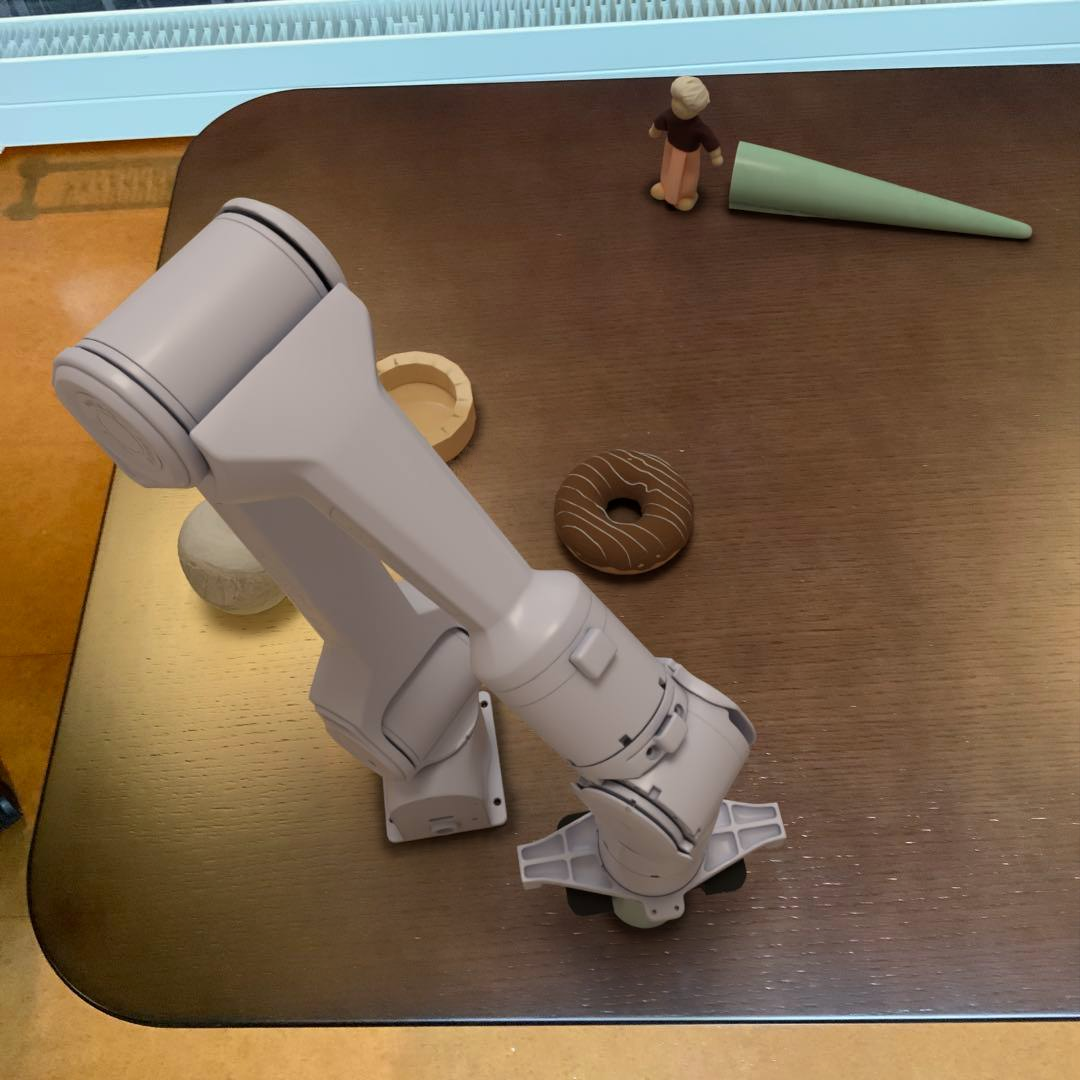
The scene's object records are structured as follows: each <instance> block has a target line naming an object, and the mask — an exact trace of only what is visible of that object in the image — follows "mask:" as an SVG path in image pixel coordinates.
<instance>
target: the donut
mask: <svg viewBox="0 0 1080 1080" xmlns="http://www.w3.org/2000/svg"><path fill="white" fill-rule="evenodd" d="M555 493H556V494H555V498H554V499H555V500H554V509H553V513H554V514H553V516H554V523H555V525H556V529H557V532H558V535H559V538H560V539H561V541H562V543H563V544H564V545H565V546H566V548H567V549H568V550H569V551H570V552H571V553H572V555H574V557H576V558H577V559H578V560H579V561H580V562H582V563H584V564H585V565H587V566H588V567H591V568H593V569H595V570H597V571H600V572H603V573H607V574H613V575H623V576H624V575H637V574H642V573H646V572H649V571H652V570H655V569H657V568H660V567H661V566H663V565H664V564H666V563H667V562H668V561H670V560H672V559H673V558H674V557H675V556H676V555H677V553H679V551H681V550H682V549H683V548H684V547H685V546H686V545H687V542H688V541H689V537H690V536H691V534H692V533H693V531H694V511H695V503H694V501H693V497H692V496H693V495H692V494H691V490H690V488H689V486H688V484H687V482H686V481H685V479H684V478H683V477H682V476H681V474H679V472H678V471H677V470H676V469H675V468H674V467H673V466H671V465H670V464H669V463H668V462H667V461H665V460H664V459H662V458H661V457H659V456H657V455H654V454H650V453H646V452H639V451H637V450H623V449H621V448H616V449H614V450H609V451H604V452H600V453H599V454H595V455H592V456H590V457H589V458H587V459H585V460H583V461H581V462H580V463H579V464H577V465H576V466H575V467H574V468H572V470H571V471H570V472H569V473H568V475H567V476H566V477H565V479H564V480H563V481H562V483H561V485H560V486H559V489H558V490H557V492H555ZM616 499H630V500H633V501H636V502H637V503H638V504H639V506H640V507H641V509H640V513H641V517H640V518H639V519H638V520H636V521H635V522H630V523H625V522H619V521H613V519H611V518H610V517H609V515H608V514H607V511H606V509H607V508H608V504H609V503H610V502H611V501H614V500H616Z"/></svg>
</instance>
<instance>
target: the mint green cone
mask: <svg viewBox="0 0 1080 1080" xmlns="http://www.w3.org/2000/svg"><path fill="white" fill-rule="evenodd" d="M734 157H735V158H734V162H733V168H732V173H731V180H730V187H729V197H728V204H729V205H728V208H729V209H734V210H741V211H743V210H744V211H751V212H758V213H768V214H777V215H787V216H789V215H790V216H796V217H814V218H822V219H824V218H825V219H832V220H834V219H835V220H844V221H853V222H860V223H861V222H862V223H871V224H880V225H889V226H897V227H907V228H915V229H925V230H934V231H942V232H943V231H944V232H951V233H952V232H953V233H961V234H970V235H971V234H972V235H980V236H988V237H996V238H997V237H998V238H1007V239H1008V238H1009V239H1018V240H1019V239H1020V240H1024V239H1025V240H1026V239H1029V238H1030V237H1031V236H1032V235H1033V228H1032V227H1031V226H1030V225H1029V224H1027V223H1025V222H1022V221H1020V220H1015V219H1012V218H1009V217H1006V216H1003V215H1000V214H996V213H992V212H990V211H987V210H983V209H979V208H977V207H973V206H969V205H966V204H963V203H959V202H956V201H953V200H950V199H945V198H942V197H939V196H936V195H932V194H930V193H926V192H922V191H919V190H916V189H913V188H909V187H905V186H902V185H899V184H895V183H891V182H889V181H885V180H882V179H878V178H875V177H872V176H868V175H866V174H861V173H859V172H854V171H853V170H852V171H851V170H848V169H845V168H841V167H838V166H835V165H832V164H828V163H824V162H821V161H818V160H814V159H811V158H808V157H806V156H805V157H804V156H801V155H799V154H798V155H797V154H794V153H792V152H791V153H790V152H787V151H783V150H780V149H777V148H776V149H775V148H771V147H767V146H764V145H759V144H755V143H751V142H747V141H746V142H745V141H742V140H739V142H738V145H737V147H736V153H735V156H734Z"/></svg>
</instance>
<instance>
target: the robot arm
mask: <svg viewBox="0 0 1080 1080" xmlns="http://www.w3.org/2000/svg"><path fill="white" fill-rule="evenodd" d="M376 362H377V352H376V337H375V329H374V326H373V322H372V318H371V316H370V312H369V309H368V307H367V306H366V305H365V303H364V302H363V301H362V300H361V298H360V297H358V296H356V295H355V294H354V293H353V291H351V290H350V287H349V285H348V281H347V279H346V277H345V275H344V272H343V270H342V268H341V266H340V265H339V263H338V262H337V260H336V259H335V257H334V255H333V254H332V253H331V252H330V250H329V249H328V248H327V247H326V245H325V244H324V242H322V241H321V240H320V239H319V237H318V236H317V235H316V234H315V233H313V231H311V230H310V229H309V228H308V227H307V226H306V225H304V223H302V222H301V221H300V220H298V219H297V218H296V217H294V216H293V215H291V214H290V213H288V212H286V211H284V210H283V209H281V208H279V207H276V206H274V205H272V204H270V203H265V202H262V201H260V200H256V199H253V198H247V197H234V198H232V199H230V200H228V201H227V202H225V203H224V204H223V205H222V206H221V207H220V208H219V210H218V211H217V212H216V213H215V214H214V216H213V218H212V220H211V221H210V222H209V223H208V224H207V225H206V226H205V227H204V228H202V230H201V231H199V232H198V233H197V234H196V235H195V236H193V238H192V239H191V240H189V241H188V242H187V243H186V244H185V245H184V246H182V247H181V248H180V249H179V250H178V251H177V252H176V253H175V254H174V255H173V256H171V258H169V259H168V260H167V261H166V262H165V263H164V264H163V265H162V266H161V267H160V268H159V269H157V270H156V271H155V272H154V273H153V274H152V275H151V276H150V277H149V278H147V279H146V280H145V281H144V282H143V283H142V284H141V285H140V286H138V288H136V289H135V290H134V291H133V292H132V293H131V294H130V295H129V296H128V297H127V298H126V299H124V300H123V301H121V303H120V304H119V305H117V306H116V307H115V308H114V309H113V310H112V311H111V312H110V313H109V314H108V315H106V316H105V318H103V319H102V320H101V321H100V322H99V323H98V324H97V325H96V326H95V327H93V328H92V329H91V330H90V331H89V332H88V333H87V334H86V335H84V336H83V338H81V339H80V340H79V341H78V342H76V343H75V344H74V345H72V346H66V347H65V348H64V349H63V350H62V351H60V352H59V353H58V354H57V355H55V357H54V359H53V362H52V375H51V386H52V387H53V389H54V393H55V395H56V397H57V399H58V401H59V402H60V404H61V405H62V406H63V407H64V408H65V409H66V410H67V411H68V413H69V414H70V415H71V416H72V418H73V419H74V420H76V422H77V423H78V424H79V425H80V426H81V427H82V429H83V430H84V431H85V432H86V433H87V434H88V435H89V436H90V437H91V438H92V439H93V441H94V442H95V443H96V444H97V445H98V446H99V447H100V448H101V450H102V451H103V452H104V453H105V454H106V455H107V456H108V457H109V458H110V460H111V461H112V462H113V463H114V464H115V465H116V467H118V468H119V469H120V471H121V472H122V473H123V474H125V476H127V478H129V479H130V480H132V481H133V482H135V484H137V485H139V486H141V487H143V488H145V489H165V490H166V489H169V490H170V489H171V490H172V489H174V490H175V489H177V490H189V489H190V490H191V489H195V488H196V489H197V491H199V493H200V494H201V495H202V496H203V497H204V500H207V501H208V502H209V504H210V505H211V506H212V507H213V508H214V510H215V511H216V512H217V513H218V514H219V516H220V517H221V518H222V519H223V520H224V522H225V523H226V524H227V525H228V526H229V528H230V529H231V530H232V531H233V532H234V534H235V535H236V536H237V537H238V538H239V540H240V541H241V542H242V543H243V544H244V546H245V547H246V548H247V549H248V550H249V552H250V553H251V554H252V555H253V556H254V558H255V559H256V560H257V561H258V562H259V564H260V565H261V566H262V567H263V568H264V570H265V571H266V572H267V573H268V574H269V576H270V577H271V578H272V579H273V580H274V582H275V583H276V584H277V585H278V586H279V588H280V589H281V590H282V591H283V592H284V594H285V595H286V598H288V600H289V601H290V602H291V603H292V605H293V606H294V607H295V608H296V609H297V611H298V612H299V613H300V614H301V616H303V618H304V619H305V620H306V621H307V623H308V624H309V625H310V626H311V627H312V629H313V630H314V631H315V632H316V633H317V635H318V636H319V637H320V638H321V639H322V641H323V644H322V648H321V651H320V655H319V659H318V661H317V664H316V668H315V671H314V675H313V678H312V682H311V684H310V689H309V693H308V700H309V702H310V703H312V704H313V706H314V711H315V712H316V713H317V715H318V716H319V718H320V719H321V720H322V722H323V723H324V726H325V727H324V728H325V731H326V732H327V734H328V735H329V736H330V738H331V739H333V741H334V742H336V743H337V744H338V746H340V747H341V748H342V749H343V750H344V751H346V752H347V753H348V754H349V755H351V756H352V757H353V758H354V759H356V760H357V761H358V762H359V763H361V764H362V765H364V766H365V767H366V768H368V769H369V770H371V771H372V772H374V773H375V774H376V775H379V776H380V777H382V786H383V801H384V812H385V813H384V814H385V826H386V837H387V839H388V841H390V842H391V843H393V844H398V843H405V842H409V841H416V840H422V839H429V838H434V837H440V836H447V835H452V834H458V833H464V832H469V831H475V830H482V829H488V828H494V827H500V826H503V825H505V824H506V823H507V821H508V813H507V812H508V811H507V806H506V805H507V804H506V798H505V791H504V783H503V778H502V777H503V775H502V770H501V769H502V768H501V763H500V762H501V761H500V755H499V747H498V741H497V734H496V726H495V720H494V711H493V705H492V697H491V695H490V693H489V692H487V691H485V690H481V687H482V685H484V686H485V687H486V688H487V689H488V690H489V691H490V692H491V693H492V694H493V695H494V696H495V697H496V698H497V699H498V700H500V701H501V702H502V703H503V704H504V705H505V706H506V707H507V708H508V709H509V710H510V711H511V712H512V713H513V714H515V715H516V717H518V718H519V719H520V720H521V722H523V723H524V724H525V725H526V726H527V727H528V728H529V729H531V730H532V731H533V732H534V734H536V736H538V737H539V738H540V739H541V740H542V741H543V742H544V743H545V744H547V745H548V747H550V748H551V750H553V751H554V753H556V754H557V755H558V756H559V757H560V758H561V759H562V760H564V762H566V763H567V764H568V766H570V767H571V768H572V769H573V771H575V772H576V773H577V774H579V776H578V777H577V779H576V782H575V781H572V780H571V781H570V782H569V784H570V787H571V790H572V791H573V793H574V794H575V795H576V797H577V798H578V799H579V801H581V803H582V804H583V805H584V806H585V807H586V808H587V809H588V810H586V811H581V812H580V811H579V812H574V813H570V814H569V813H568V814H567V815H565V816H563V817H562V818H561V819H560V820H559V822H558V824H557V826H556V831H555V832H552V833H551V834H548V835H546V836H545V837H542V838H540V839H537V840H535V841H532V842H527V843H524V844H520V845H517V846H516V850H517V858H518V865H519V872H520V881H521V884H522V887H523V890H524V891H528V890H533V889H539V888H541V887H542V886H543V885H554V886H559V887H565V894H566V900H567V901H566V902H567V904H568V907H569V908H570V910H571V911H572V913H573V914H574V915H575V916H578V917H593V916H597V915H604V914H609V913H610V914H611V913H615V912H614V907H613V901H612V896H616V897H621V898H626V899H631V900H636V901H639V902H640V903H641V904H642V905H643V907H644V911H645V915H646V917H647V919H649V920H650V921H652V922H659V921H664V920H667V921H670V920H677V919H678V918H680V917H682V916H683V914H684V912H685V901H684V895H685V894H686V893H687V892H689V891H692V890H697V889H700V890H702V892H703V893H704V894H705V897H709V896H713V895H720V894H727V893H732V892H736V891H738V890H740V889H742V888H743V886H744V884H745V882H746V879H747V875H748V872H747V871H748V870H747V865H746V861H745V857H747V856H748V855H749V856H750V854H753V853H754V852H756V851H758V850H761V848H763V849H767V850H768V849H769V850H770V849H775V848H781V847H782V846H783V844H784V843H785V841H786V839H787V832H786V829H785V824H784V822H783V818H782V814H781V810H780V807H779V804H778V802H776V801H775V802H767V803H749V802H743V801H735V800H730V799H727V798H726V796H727V794H728V793H729V791H730V789H731V787H732V786H733V784H734V783H735V781H736V779H737V777H738V775H739V774H740V772H741V771H742V769H743V767H744V765H745V764H746V762H747V761H748V759H749V757H750V755H751V748H750V746H753V745H754V744H755V743H756V741H757V732H756V729H755V727H754V724H753V723H752V722H751V720H750V719H749V718H748V716H746V714H745V713H744V712H743V710H742V709H741V707H740V706H739V705H738V704H737V703H735V702H734V701H733V700H731V699H730V698H729V697H728V696H726V695H725V694H724V693H722V692H721V691H719V690H718V689H717V688H715V687H714V686H712V685H711V684H708V683H707V682H705V681H704V680H702V679H700V678H698V677H696V676H695V675H693V674H692V673H691V672H689V671H688V670H687V669H686V668H685V667H684V665H682V664H681V663H678V662H676V660H674V659H673V658H672V657H660V656H659V657H658V656H657V657H656V656H655V655H653V654H652V653H651V651H650V650H649V649H648V648H647V647H646V646H645V645H644V644H643V643H642V642H641V641H640V640H639V639H638V638H637V637H636V636H635V634H633V633H632V631H630V630H629V629H628V627H627V626H625V624H624V623H623V622H622V621H621V620H620V619H619V618H618V617H617V616H616V615H615V614H614V613H613V612H612V610H611V609H609V608H608V606H606V605H605V603H603V602H602V601H601V599H600V598H599V597H598V596H597V595H596V594H595V593H594V592H593V591H592V590H591V589H590V588H589V587H588V586H587V584H585V582H583V580H582V579H581V578H580V577H579V576H578V575H577V574H575V573H574V572H571V571H569V570H565V569H541V570H540V569H539V570H538V569H534V568H533V567H531V565H530V564H528V562H527V561H526V560H525V558H524V557H523V556H522V554H520V552H519V551H518V550H517V548H516V547H515V546H514V545H513V544H512V543H511V541H510V540H509V538H508V537H507V536H506V535H505V534H504V533H503V532H502V530H501V529H500V528H499V527H498V525H497V524H496V523H495V522H494V521H493V520H492V518H491V517H490V515H489V514H488V513H487V512H486V511H485V509H484V508H483V507H482V505H480V503H479V502H478V501H477V500H476V499H475V497H474V495H472V494H471V492H470V491H469V490H468V489H467V487H465V485H464V484H463V482H461V480H460V479H459V478H458V477H457V475H456V474H455V473H454V471H452V469H451V468H450V466H448V464H447V462H446V463H445V462H444V461H443V460H442V458H441V457H440V456H439V455H438V453H437V452H436V451H435V450H434V449H433V447H432V446H431V445H430V444H429V442H428V441H427V440H426V439H425V438H424V436H423V435H422V434H421V433H420V431H419V430H418V429H417V428H416V427H415V425H414V424H413V423H412V422H411V420H410V419H409V418H408V417H407V416H406V414H405V413H404V412H403V411H402V409H401V408H400V407H399V406H398V405H397V403H396V402H395V401H394V400H393V398H392V397H391V396H390V395H389V394H388V392H387V391H386V390H385V388H384V387H383V386H382V384H381V382H380V380H379V377H378V372H377V364H376ZM384 564H385V565H386V566H385V565H384ZM386 567H388V568H389V569H391V570H392V571H393V572H395V573H396V574H397V575H398V576H400V578H402V579H400V580H397V581H395V578H393V576H392V574H391V573H390V572H389V570H388V569H387V568H386ZM480 690H481V691H480ZM483 704H487V705H486V706H485V707H482V705H483ZM498 800H499V801H500V804H498V805H496V804H495V802H496V801H498ZM391 821H392V822H391ZM675 908H677V911H676V910H675ZM652 912H655V913H656V914H655V915H654V914H652Z"/></svg>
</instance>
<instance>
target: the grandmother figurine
mask: <svg viewBox="0 0 1080 1080" xmlns="http://www.w3.org/2000/svg"><path fill="white" fill-rule="evenodd" d="M670 94H671V96H672V98H671V103H670V105H671V107H668V108H667V109H665V110H663V111H662V112H661V113H659V114H658V116H656V117H655V118H654V120H653V123H652V125H651V127H650V128H649V129H648V135H649V137H650V138H651V139H657V138H658V137H659V136H660V135H661V133H662V132H667V137H666V138H665V142H664V148H663V156H662V164H661V170H660V179H659V180H660V182H657V183H655V184H654V185H653V186H652V187H651V189H650V195H651V196H652V197H653V198H654V199H656V200H658V201H665V202H667V203H668V204H670V205H672V206H673V207H674V208H675V209H677V210H679V211H683V212H687V211H690V210H692V209H693V208H694V206H695V205H696V203H697V201H698V199H699V194H698V191H697V189H698V183H699V180H700V179H699V178H700V169H701V147H703V149H704V150H705V151H706V152H707V153H708V156H709V157H710V158H711V161H710V162H711V165H712V166H713V167H716V168H718V167H721V166H722V165H723V163H724V159H723V156H722V150H721V145H722V143H721V142H720V140H719V139H718V138H717V136H716V134H715V133H714V131H713V130H712V129H711V128H710V127H709V126H708V125H707V124H706V123H704V121H703V120H702V118H701V117H700V115H699V113H700V112H702V111H703V110H704V109H706V107H707V105H708V104H709V103H711V100H710V92H709V91H708V89H707V87H706V85H705V84H703V82H702V80H701V79H700V78H698V77H695V76H690V75H682V76H679V77H677V78H676V79H675V80H674V81H672V83H671V85H670ZM701 145H702V146H701Z"/></svg>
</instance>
